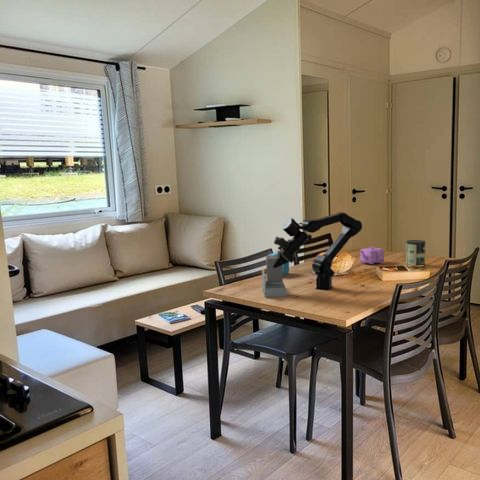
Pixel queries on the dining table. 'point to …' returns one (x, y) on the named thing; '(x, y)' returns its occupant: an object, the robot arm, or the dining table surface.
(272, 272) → the grey rectangular block
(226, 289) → the dining table surface
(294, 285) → the dining table surface
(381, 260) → the purple box
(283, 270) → the data package
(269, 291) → the rack
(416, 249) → the coffee can
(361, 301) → the dining table surface
